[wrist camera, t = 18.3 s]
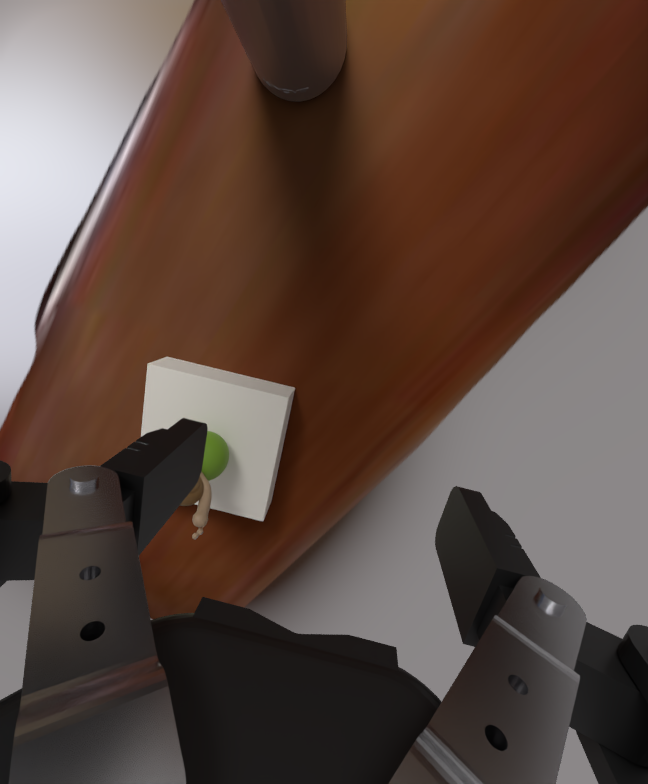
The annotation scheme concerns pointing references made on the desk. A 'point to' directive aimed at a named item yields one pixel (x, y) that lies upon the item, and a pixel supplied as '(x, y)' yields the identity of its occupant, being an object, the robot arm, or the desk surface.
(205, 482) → the snail figurine
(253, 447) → the cream block
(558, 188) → the desk surface
